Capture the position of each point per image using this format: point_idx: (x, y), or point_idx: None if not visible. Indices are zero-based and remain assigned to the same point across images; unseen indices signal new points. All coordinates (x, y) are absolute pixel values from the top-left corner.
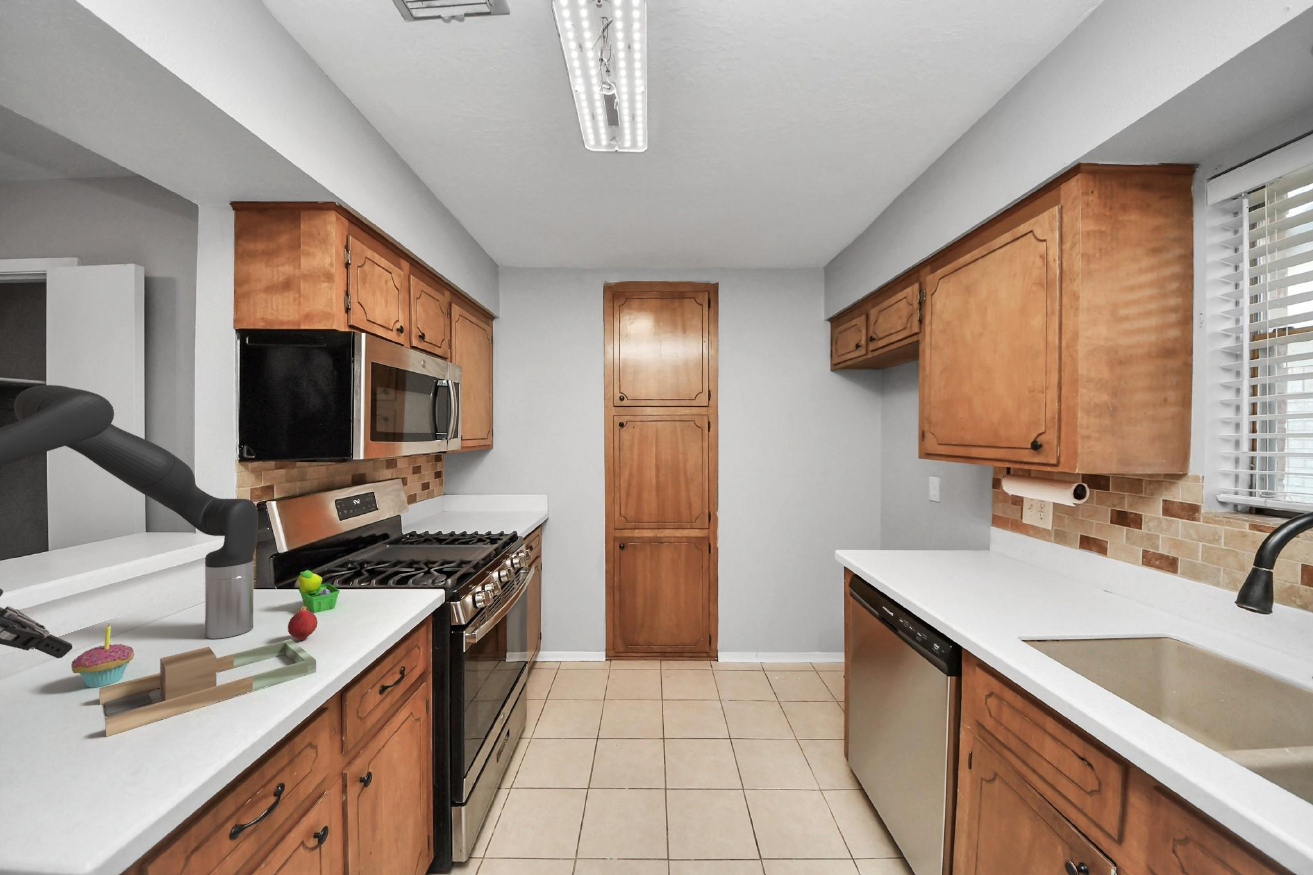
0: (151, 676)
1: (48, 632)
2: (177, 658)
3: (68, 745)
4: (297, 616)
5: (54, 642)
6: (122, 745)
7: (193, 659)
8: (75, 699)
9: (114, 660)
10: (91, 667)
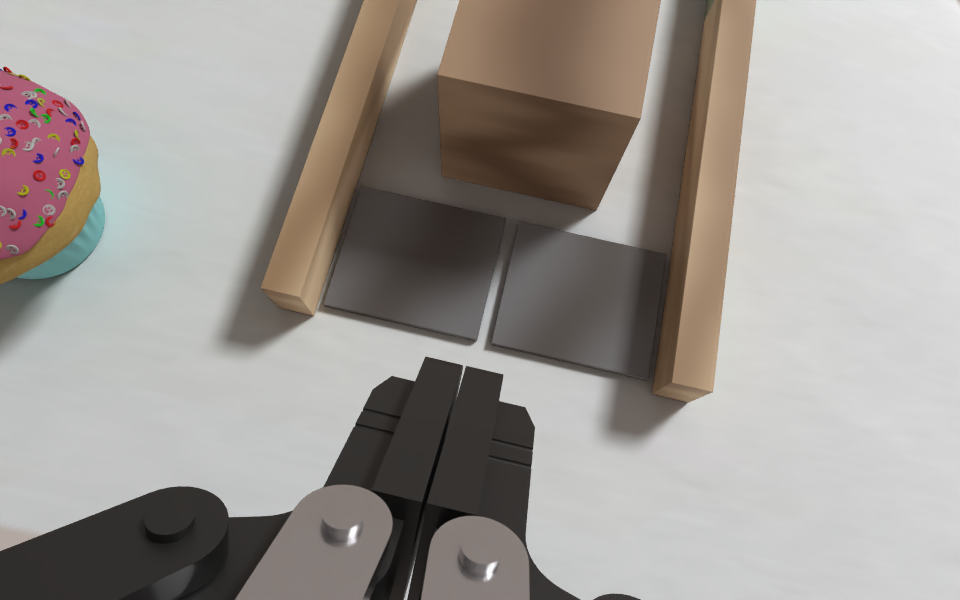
0: (336, 140)
1: (369, 502)
2: (524, 41)
3: (643, 497)
4: None
5: (524, 490)
6: (822, 397)
7: (613, 16)
8: (141, 346)
9: (84, 163)
10: (42, 243)
